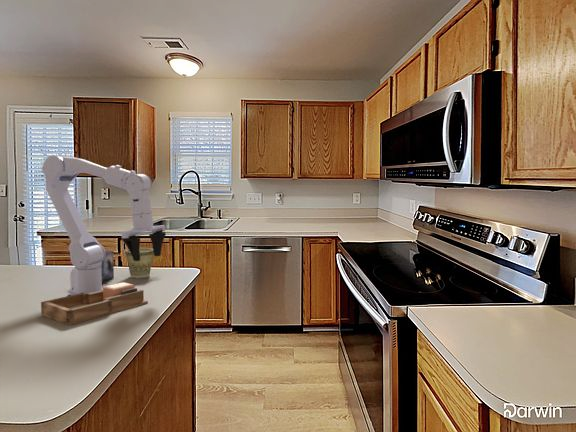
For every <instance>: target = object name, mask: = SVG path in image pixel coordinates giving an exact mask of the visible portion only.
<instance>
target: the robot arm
mask: <svg viewBox="0 0 576 432" xmlns="http://www.w3.org/2000/svg"><path fill="white" fill-rule="evenodd" d="M41 170H42V173H43V175H44V177H45V179H44V180H45V190H46V193H47V194H48V197H49V199H50V200H51V202H52V205H53V206H54V210H56V213H57V215H58V217H59V219H60V221H61V222H62V226H63V228H64V229H65V231H66V234H67V235H68V238H69V239H70V244H69V246H68V248H67V249H68V251H69V254H70V256H69V257H70V262H71V264H72V265H73V266H74V267H73V268H72V269H71V271H70V274H69V275H70V277H69V279H70V281H69V282H70V291H69V292H68V293H67V295H68V296H71V295H75V294H80V293H86V294H88V293H92V292H97V291H101V290H103V286H102V285H103V283H102V275H101V265H102V261H103V260H104V258H105V255H106V253H105V250H106V249H105V247H104V246H103V245H102V244H100V242H99V241H98V240H97V238H96V237H94V236H93V235H92V234H90V232H89V231H88V229H87V227H86V225H85V223H84V221H83V219H82V216H81V214H80V212H79V210H78V209H77V208H78V207H77V206H76V204H75V202H74V200H73V198H72V196H71V193H70V192H69V190H68V189H69V187H70V185H71V183H72V182H73V181H74V180H75V179H76V178H77V176H78V175H79V174H82V173H85V174H87V175H92V176H96V177H99V178H103V180H104V182H105V183H106V184H107V185H111V186H114V187H117V188H120V189H123V190H125V191H126V192H127V193H128V196H129V201H130V208H131V216H132V224H133V225H132V226H133V229H130V230H125V231H121V232H120V234H121V235H120V236H121V239H122V242H123V243H124V244H125V245H126V247H127V248H128V249H129V250H130V252H131V254H132V257H133V260H134V261H140V251H139V248H140V243H141V238H140V237H138V236H143V235H144V236H145V235H149V238H150V241H151V244H152V249H153V251H154V257H159V256H160V255H161V253H162V247H163V243H164V240H165V237H166V236H167V235H166V234H167V233H166V225H165V224H161V225H154V219H153V213H152V212H153V211H152V204H151V197H150V195H151V194H150V190H151V189H152V183H153V182H152V180H151V178H150V177H149V176H148V175H146V174H145V173H139V174H137V173H136V170H127V169H125V168H122V165H119V164H115V165H110V166H108V167H105V166H102V165H100V164H97V163H94V162H92V161H89V160H87V159H83V158H79V157H74V156H57V155H49V156H48V157H46V159H45V160H44V162H43V164H42V167H41ZM161 256H162V255H161Z"/></svg>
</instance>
